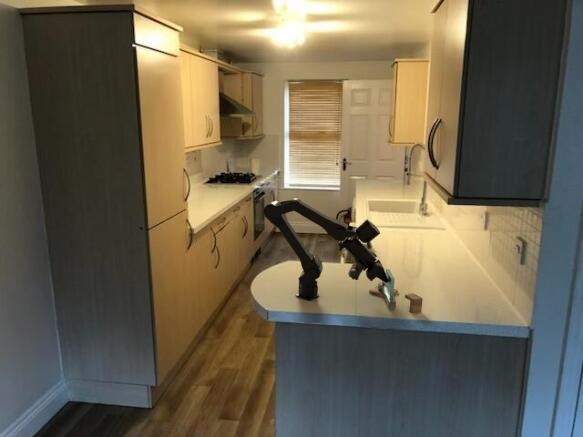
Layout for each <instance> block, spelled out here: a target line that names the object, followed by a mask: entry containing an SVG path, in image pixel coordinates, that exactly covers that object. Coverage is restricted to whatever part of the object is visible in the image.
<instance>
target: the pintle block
mask: <svg viewBox="0 0 583 437" xmlns="http://www.w3.org/2000/svg"><path fill="white" fill-rule="evenodd" d="M368 293H369V294H371V295H374V296H378V297H381V298H384V296H383V293H382V291H380V290H378V285H376V286H375V287H373V288H371V289H368ZM398 293H399V290H398V289H396V288H394V292H393V296H396V295H397V294H398Z"/></svg>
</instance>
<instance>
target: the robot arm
mask: <svg viewBox="0 0 583 437" xmlns="http://www.w3.org/2000/svg"><path fill="white" fill-rule="evenodd" d="M292 212H295V213H297V214H299V215H301V216H302V217H304V218H305V219H307V220H309V221H310V222H313V223H314V224H315V225H317V226H320V227H321V228H322V229H323V230H324V231H325V232H326V233H327V234H328V235H329V236H330V237H331V238H332V239H334V240H335V241H338V251H339V252H341V251H342V250H343V249H345V250H346V251H347V252H348V254H350V256H352V258H353V260H354V262H353V263H352V265H351V267H350V269H349V271H348V273H347V274H348V277H349V278H351V280H355V281H358V280H359V278H360V275H361V274H362V273H363V272H365V275H366V278H367V279H368V280H369V281H370V282H372V281H374V280H375V279H376V278H378V279H379V280H380V281H381V282H382V281H383V282H385V283H388V279H387V276H386V269H385V267H384V266H383V263H381V260H380V259H377V258H378V254H377V253H375V252H374V251H373V250H369V248H367V247H366V246H364V245H363V244H367V243H369V242H370V241H371V242H372V241H373V240H374V239H375V238H376V237H378V236H379V235H380V234H381V231H380V230H379V228H378V227H377V226H376V224H374V223H373V222H372V221H370V220H369V219H367V218H366V219H365V220H364V221H363V222H362V223H361V224H360V225H359V226H353V225H348V223H346V222H345V221H342V220H339V219H338V218H334V217H330V216H327V215H326V214H324V213H322V212H320V211H319V210H317V209H316V208H314V207H312V206H310V205H309V204H307V203H305V202H303V201H302V200H301V199H299V198H296V197H295V198H293V199H289V200H288V199H287V200H283V201H277V200H273V201H271V202H269V203H267V204H266V205H265V207H264V208H263V215H264V217H265V218H266V219H267V221H269V223H271V224H272V225H273V226H275V227H276V228H277V229H278V230H279V232H280V233H281V234H282V236H283V238H284V239H285V240H286V242H287V243H288V244H289V246H290V248H291V249H292V250H293V252H294V254H295V255H296V257H297V258H298V259H299V262H300V265H301V269H302V272H301V274H300V275H299V277H298V293H297V294H295V297H298V298H300V299H303V300H306V301H309V302H310V301H312V300H314V299H316V298H319V296H320V294H319V293H318V292H319V285H318V279H319V278H320V277H321V274H322V273H323V269H324V266H323V261H322V260H321V258H320V257H319V255H318V253H317V252H316V253H315V254H313V253H311V252H310V251H309V249H307V247H306V245H305V244H304V243H303V241H302V240H301V238H300V236H299V235H298V234H297V232H296V231H295V229H294V228H293V226H292V225H291V223H290V222H289V221H288V217H287V214H289V213H292ZM357 237H358V238H359V239H358V238H357Z"/></svg>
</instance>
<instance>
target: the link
mask: <svg viewBox="0 0 583 437" xmlns="http://www.w3.org/2000/svg"><path fill="white" fill-rule="evenodd" d="M385 273H386V276H387V279H388V283H385V282H383V281H382V280H381V282H378V284H377V286H378V290H380V291H382V293H383V296H384V297H383V298H384V300H385V302H386V305H387V306H388V308H396V306H397V301H396V299H395V297H394V295H393V292H394V289H395V277H394V276H393V273H392V272H391V270H390V269H389V268H387V269H385Z"/></svg>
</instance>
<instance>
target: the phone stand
mask: <svg viewBox="0 0 583 437" xmlns="http://www.w3.org/2000/svg"><path fill="white" fill-rule="evenodd" d="M357 238H358V237H357ZM358 239H359V238H358ZM359 240H360V239H359ZM362 244H363V245H364V246H366V247H367V249H372V241H370V242H369V243H362Z"/></svg>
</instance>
